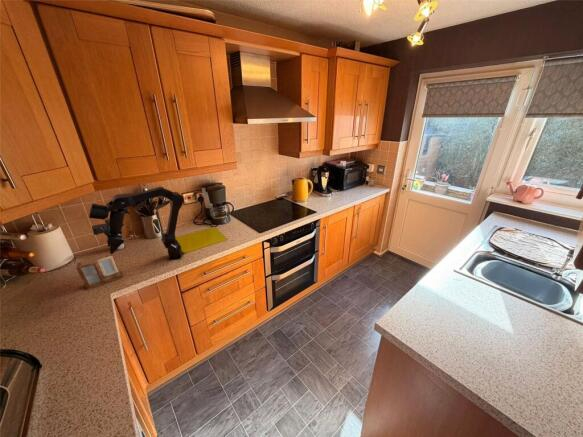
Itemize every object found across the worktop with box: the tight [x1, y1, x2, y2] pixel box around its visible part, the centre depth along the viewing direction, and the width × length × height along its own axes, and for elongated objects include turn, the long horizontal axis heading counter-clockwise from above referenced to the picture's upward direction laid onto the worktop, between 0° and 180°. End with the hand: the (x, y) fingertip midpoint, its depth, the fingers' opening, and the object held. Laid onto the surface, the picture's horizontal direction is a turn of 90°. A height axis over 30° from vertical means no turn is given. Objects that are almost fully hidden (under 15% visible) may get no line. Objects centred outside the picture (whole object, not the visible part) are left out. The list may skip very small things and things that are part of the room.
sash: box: [96, 255, 119, 277], centre depth 118 cm, size 6×1×10 cm, turn 128°
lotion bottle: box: [104, 218, 125, 251], centre depth 142 cm, size 6×6×20 cm
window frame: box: [76, 261, 122, 290], centre depth 115 cm, size 14×5×13 cm, turn 128°
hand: (110, 250), depth 114 cm, fingers open, 9 cm apart
